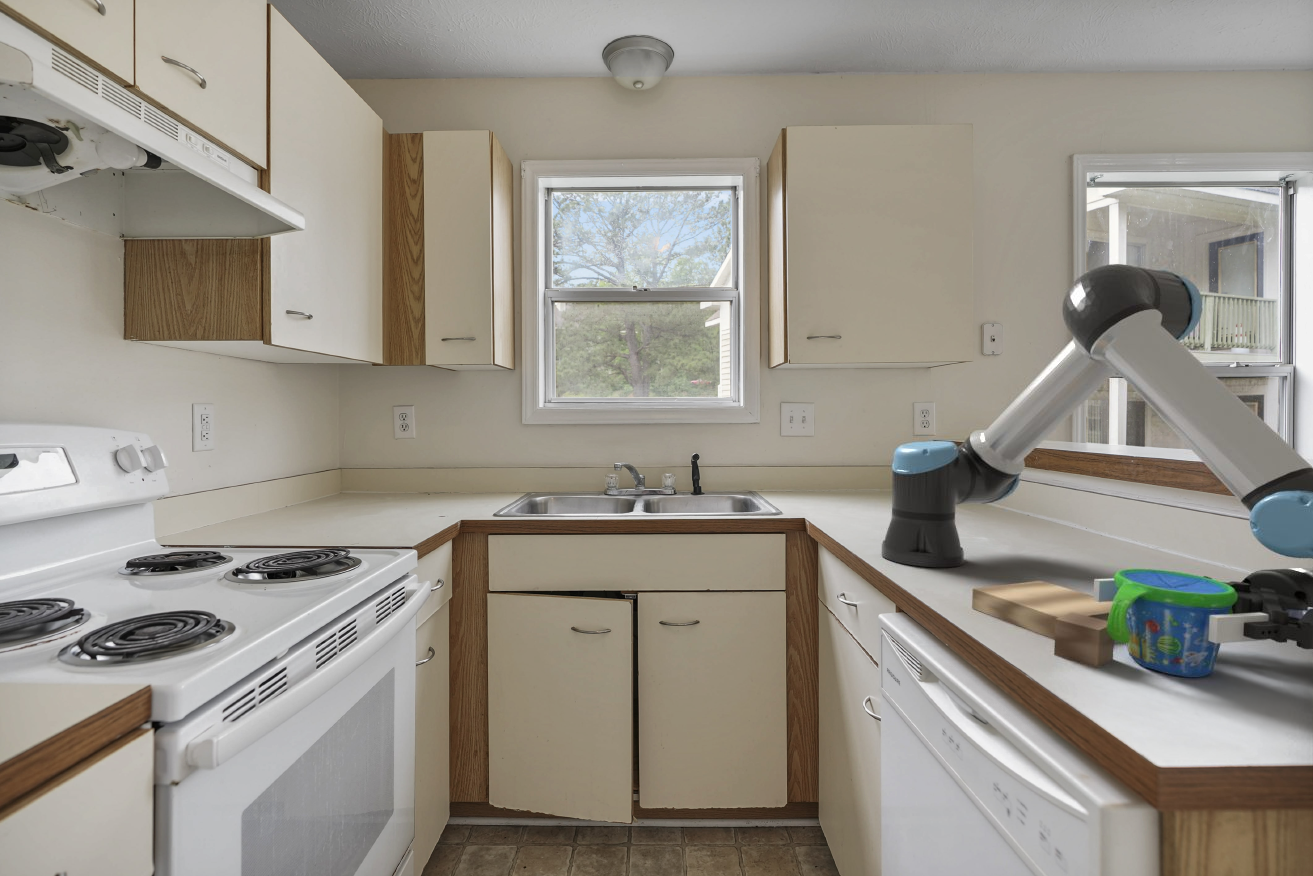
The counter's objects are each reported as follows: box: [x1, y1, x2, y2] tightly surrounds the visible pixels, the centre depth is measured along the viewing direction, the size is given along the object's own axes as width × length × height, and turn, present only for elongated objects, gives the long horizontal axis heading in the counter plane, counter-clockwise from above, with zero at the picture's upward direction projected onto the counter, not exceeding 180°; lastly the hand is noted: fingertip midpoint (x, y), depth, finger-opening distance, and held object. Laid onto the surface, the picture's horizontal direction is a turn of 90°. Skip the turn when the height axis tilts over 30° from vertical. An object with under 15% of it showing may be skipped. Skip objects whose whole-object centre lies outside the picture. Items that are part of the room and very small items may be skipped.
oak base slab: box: [971, 580, 1113, 640], centre depth 86 cm, size 14×14×3 cm
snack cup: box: [1106, 568, 1238, 678], centre depth 70 cm, size 16×10×10 cm
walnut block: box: [1053, 612, 1115, 669], centre depth 72 cm, size 4×4×4 cm
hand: (1148, 608), depth 69 cm, fingers open, 13 cm apart
